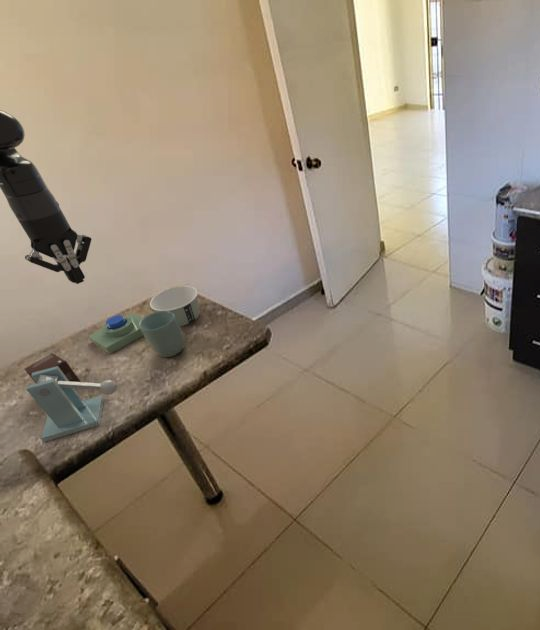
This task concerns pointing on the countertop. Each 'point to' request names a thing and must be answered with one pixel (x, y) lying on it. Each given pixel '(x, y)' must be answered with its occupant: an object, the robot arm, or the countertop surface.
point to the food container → (178, 303)
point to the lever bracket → (63, 406)
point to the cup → (163, 333)
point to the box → (52, 362)
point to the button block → (117, 334)
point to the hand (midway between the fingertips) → (78, 281)
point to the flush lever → (84, 384)
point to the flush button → (116, 322)
